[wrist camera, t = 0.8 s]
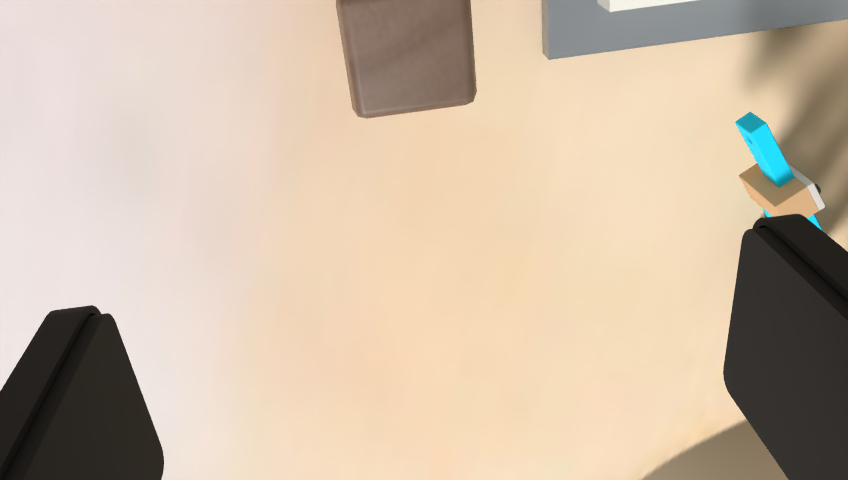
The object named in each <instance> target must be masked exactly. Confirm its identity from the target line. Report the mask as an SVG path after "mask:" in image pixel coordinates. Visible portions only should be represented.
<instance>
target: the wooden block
mask: <svg viewBox="0 0 848 480" xmlns="http://www.w3.org/2000/svg"><path fill="white" fill-rule="evenodd" d="M336 8H337V14H338V20H339V27H340V33H341V39H342V45H343V52H344V58H345V64H346V70H347V76H348V83H349V89H350V95H351V101H352V107H353V110H354V111H355V113H356V114H357V116H358V117H363V118H374V117H381V116H388V115H396V114H403V113H410V112H418V111H425V110H432V109H440V108H447V107H454V106H462V105H466V104H469V103H471V102H473V101H474V98H475V95H476V92H477V89H476V75H475V60H474V46H473V32H472V17H471V3H470V0H336Z"/></svg>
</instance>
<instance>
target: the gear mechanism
mask: <svg viewBox="0 0 848 480" xmlns="http://www.w3.org/2000/svg"><path fill="white" fill-rule="evenodd" d="M735 123H736V125H737V127H738V129H739V130H740V132H741V134H742V136H743V138H744V140H745V141H746V143H747V145H748V147H749V149H750V151H751V152H752V154H753V156H754V158H755V160H756V161H757V164H756V165H754V166H752V167H751V168H749V169H748V170H746V171H745V172H743V173H742V174H740V175H739V177H740V179H741V180H742V182H743V184H744V186H745V187H746V189H747V191H748V193H749V194H750V196H751V198H752V199H753V200H755V201H756V202H757V203H758V204H759V205H760V206H761V207H762V208H763V210H764V212H765V214H766V216H767V217H774V216H782V215H789V214H801V215H803V216H805V217H806V218H807V219H808V220H810V221H811V222H812V223H813V224H814V225H816V226H817V227H818V228H819V229H820V230H822V229H821V227H820V225H819V223H818V221H817V219H816V217H815V215H814V214H815V213H816V212H818V211H819V210H821V209H823V208H824V207H825V204H824V202H823V200H822V198H821V196H820V192H821V190H820V188H819V186H818V185H817V184H814V183H813V182H812V181H811V180H809V179H808V178H807V177H805V176H804V175H803V174H801V173H800V172H799V171H797V170H796V169H795V168H793V167H792V166H791V165H790V164H789V163H787V162H786V160H785V158H784V156H783V154H782V152H781V150H780V148H779V146H778V144H777V142H776V141H775V139H774V137H773V135H772V133H771V131H770V129H769V127H768V125H767V123H766V122H764V121H763V120H761V119H760V118H759V117H757V116H756V115H754V114H753V113H751V112H749V113H748V114H746V115H745V116H743V117H742V118H740V119H739V120H737V121H736V122H735Z"/></svg>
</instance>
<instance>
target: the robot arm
mask: <svg viewBox="0 0 848 480" xmlns="http://www.w3.org/2000/svg"><path fill="white" fill-rule="evenodd" d="M723 374H724V381H725V385H726V388H727V390H728V392H729V394H730V395H731V397H732V398H733V400H734V401H735V403H736V404H737V406H738V407H739V408H740V410H741V411H742V413H743V414H744V416H745V417H746V419H747V420H748V421H749V423H750V424H751V426H752V427H753V429H754V430H755V432H756V433H757V434H758V436H759V437H760V439H761V440H762V442H763V443H764V444H765V446H766V447H767V449H768V450H769V452H770V453H771V455H772V456H773V457H774V459H775V460H776V462H777V463H778V465H779V466H780V468H781V469H782V470H783V472H784V473H785V475H786V476H787V478H788V479H789V480H848V252H847V251H846V250H845V249H844V248H842V247H841V246H840V245H839V244H837V243H836V242H835V241H834V240H833V239H831V238H830V237H829V236H828V235H827V234H825V233H824V232H823V231H822V230H820V229H819V228H818V227H817V226H816V225H814V224H813V223H812V222H811V221H810V220H808V219H807V218H806V217H805V216H803V215H801V214H789V215H782V216H774V217H766V218H760V219H758V220H757V221H756V222H755V224H754V226H753V229H748V230H747V231H745V233H744V235H743V238H742V243H741V250H740V257H739V264H738V271H737V278H736V285H735V292H734V299H733V306H732V313H731V320H730V327H729V334H728V341H727V348H726V355H725V362H724V370H723ZM163 469H164V456H163V450H162V447H161V444H160V441H159V438H158V436H157V433H156V430H155V428H154V425H153V422H152V420H151V417H150V414H149V411H148V409H147V406H146V403H145V401H144V398H143V395H142V393H141V390H140V387H139V384H138V382H137V379H136V376H135V374H134V371H133V368H132V366H131V363H130V360H129V357H128V355H127V352H126V349H125V347H124V344H123V341H122V339H121V336H120V333H119V330H118V328H117V325H116V322H115V320H114V318H113V317H112V316H111V315H110V314H108V313H107V314H101V313H100V311H99V310H98V309H97V308H96V307H95V306H92V305H91V306H84V307H76V308H68V309H61V310H54V311H51V312H50V313H49V314H48V315H47V316H46V318H45V319H44V321H43V322H42V324H41V326H40V327H39V329H38V331H37V332H36V334H35V336H34V337H33V339H32V340H31V342H30V344H29V345H28V347H27V349H26V350H25V352H24V354H23V355H22V357H21V358H20V360H19V362H18V363H17V365H16V367H15V368H14V370H13V372H12V373H11V375H10V376H9V378H8V380H7V381H6V383H5V385H4V386H3V388H2V390H1V391H0V480H161V478H162V474H163Z"/></svg>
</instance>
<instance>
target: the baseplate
mask: <svg viewBox="0 0 848 480" xmlns="http://www.w3.org/2000/svg"><path fill="white" fill-rule="evenodd" d="M845 19H848V0H542V38H543V54H544V55H545V56H546V57H547V58H548V59H549V60H550V59H558V58H565V57H573V56H580V55H587V54H595V53H602V52H609V51H617V50H624V49H631V48H639V47H646V46H654V45H661V44H668V43H676V42H683V41H690V40H698V39H705V38H712V37H720V36H727V35H735V34H742V33H749V32H757V31H764V30H771V29H779V28H786V27H793V26H801V25H808V24H816V23H823V22H830V21H838V20H845Z"/></svg>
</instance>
